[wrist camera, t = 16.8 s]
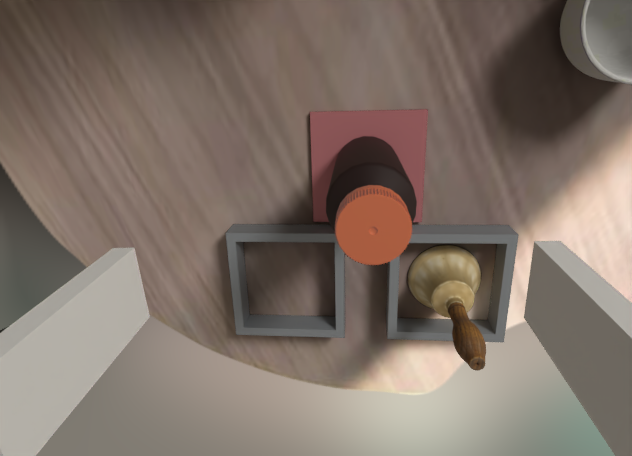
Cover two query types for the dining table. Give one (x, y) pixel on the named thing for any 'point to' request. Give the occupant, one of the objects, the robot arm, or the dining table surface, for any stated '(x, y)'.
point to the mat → (343, 126)
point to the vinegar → (370, 202)
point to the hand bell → (451, 295)
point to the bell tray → (499, 294)
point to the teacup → (599, 38)
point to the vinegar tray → (282, 323)
